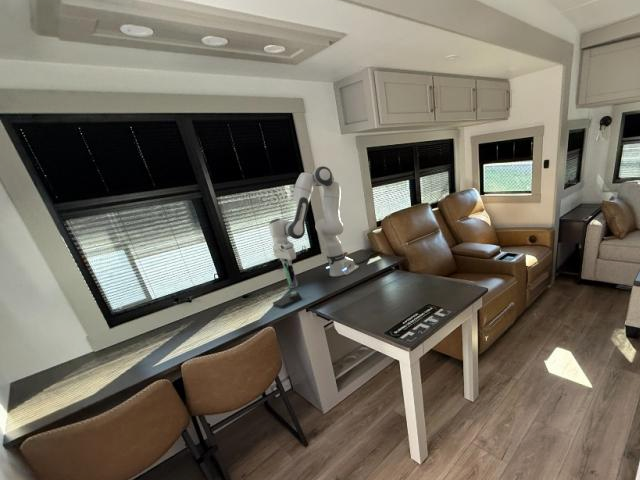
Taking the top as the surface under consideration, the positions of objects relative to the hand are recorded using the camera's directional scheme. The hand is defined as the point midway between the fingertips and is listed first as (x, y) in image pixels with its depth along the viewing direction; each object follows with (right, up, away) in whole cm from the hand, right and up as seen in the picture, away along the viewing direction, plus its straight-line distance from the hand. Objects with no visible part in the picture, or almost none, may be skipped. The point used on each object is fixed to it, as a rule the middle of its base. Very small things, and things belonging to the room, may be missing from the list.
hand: (287, 264), depth 207 cm
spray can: (+2, -14, +6) cm, 16 cm away
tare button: (+11, -19, -19) cm, 29 cm away
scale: (+7, -24, -19) cm, 31 cm away
